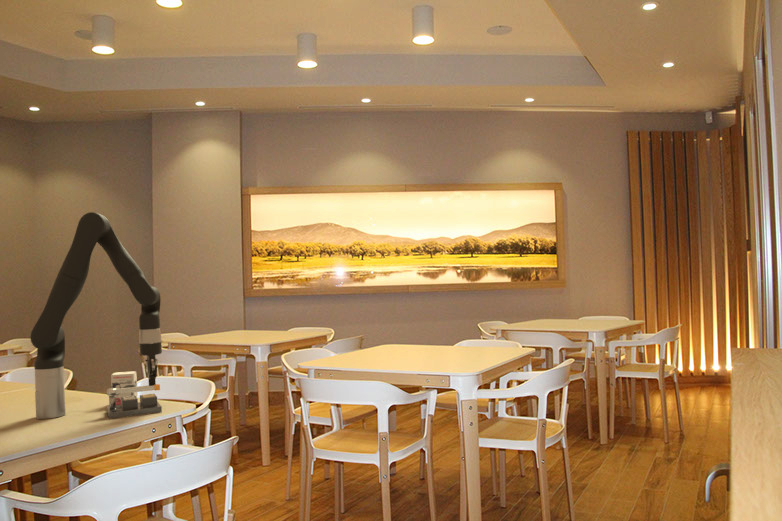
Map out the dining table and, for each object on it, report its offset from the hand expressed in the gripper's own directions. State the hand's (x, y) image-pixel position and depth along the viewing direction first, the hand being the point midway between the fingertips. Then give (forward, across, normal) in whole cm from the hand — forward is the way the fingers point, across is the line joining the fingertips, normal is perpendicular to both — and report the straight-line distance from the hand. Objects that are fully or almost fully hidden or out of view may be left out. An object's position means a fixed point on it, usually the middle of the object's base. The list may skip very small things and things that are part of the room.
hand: (152, 388), depth 243 cm
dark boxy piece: (+7, +2, -7) cm, 10 cm away
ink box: (+8, -18, -8) cm, 21 cm away
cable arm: (0, +2, -7) cm, 7 cm away
